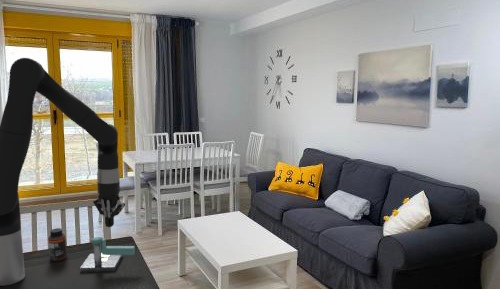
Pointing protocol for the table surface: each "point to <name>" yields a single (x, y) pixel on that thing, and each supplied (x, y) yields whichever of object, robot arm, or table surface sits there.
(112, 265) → the plate
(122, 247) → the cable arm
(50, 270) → the table surface
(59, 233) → the supplement bottle
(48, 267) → the table surface
